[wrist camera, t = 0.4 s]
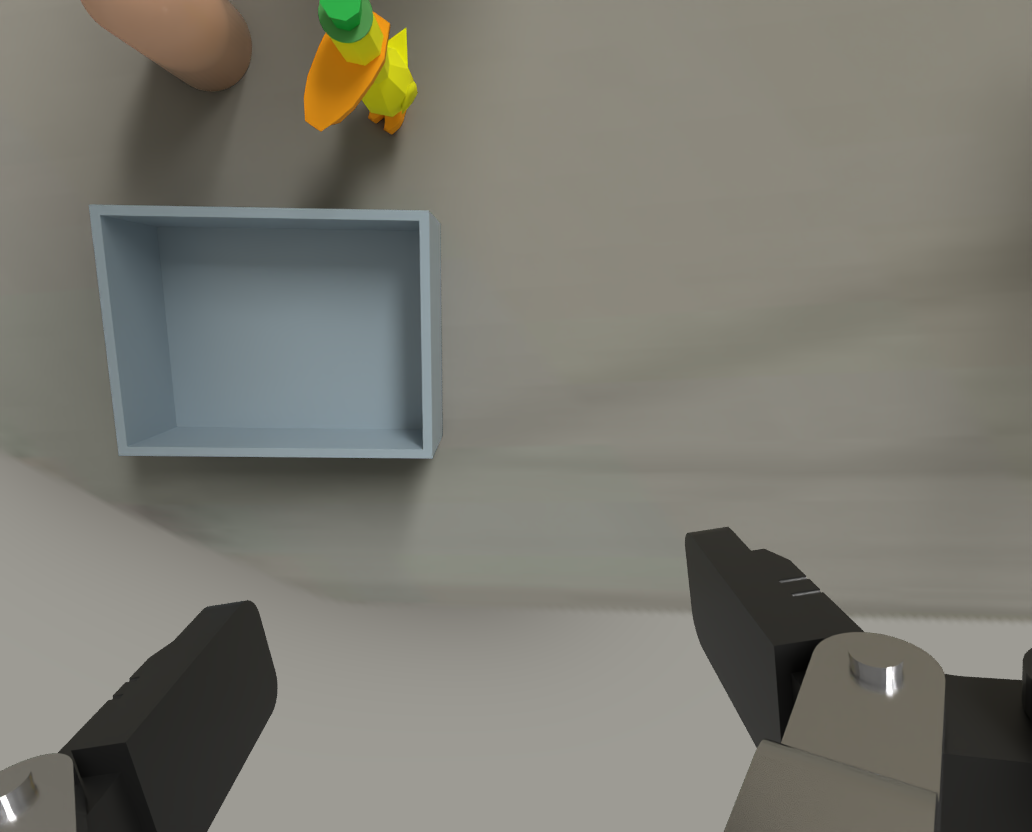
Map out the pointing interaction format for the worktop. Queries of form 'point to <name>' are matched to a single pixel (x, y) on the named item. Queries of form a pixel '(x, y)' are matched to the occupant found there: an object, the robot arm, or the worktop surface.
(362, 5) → the toy figure
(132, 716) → the robot arm
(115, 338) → the tote
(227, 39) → the brown egg
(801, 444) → the worktop surface
